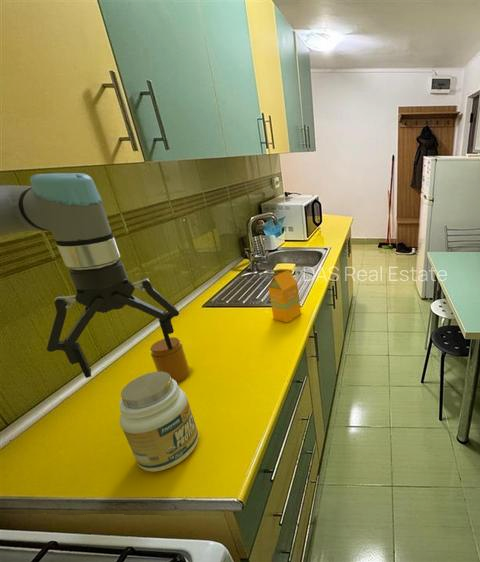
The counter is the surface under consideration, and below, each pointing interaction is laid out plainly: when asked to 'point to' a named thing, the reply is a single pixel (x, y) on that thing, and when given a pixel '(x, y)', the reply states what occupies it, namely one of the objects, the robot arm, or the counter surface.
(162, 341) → the jar
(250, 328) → the counter surface
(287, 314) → the orange juice
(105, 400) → the counter surface
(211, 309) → the counter surface
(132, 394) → the lid
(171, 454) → the supplement tub
